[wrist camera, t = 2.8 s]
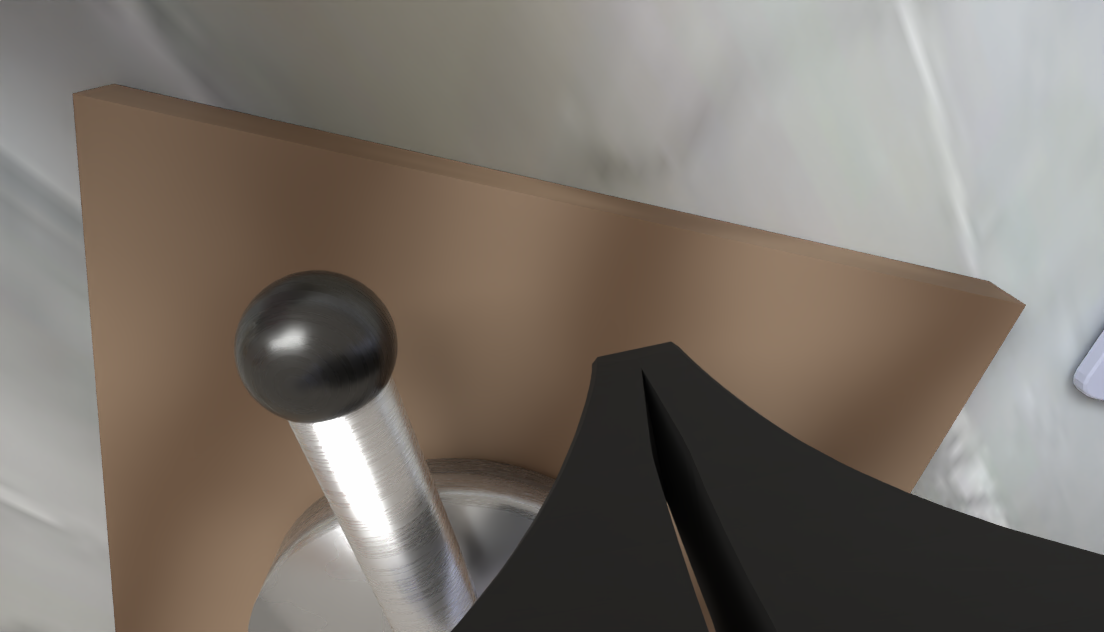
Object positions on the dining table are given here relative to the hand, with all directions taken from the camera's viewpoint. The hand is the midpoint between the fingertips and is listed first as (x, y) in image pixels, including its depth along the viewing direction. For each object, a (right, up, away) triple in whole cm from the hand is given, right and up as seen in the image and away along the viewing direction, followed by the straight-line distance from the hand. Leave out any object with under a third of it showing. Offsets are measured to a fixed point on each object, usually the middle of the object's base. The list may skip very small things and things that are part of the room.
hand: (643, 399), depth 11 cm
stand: (-3, -5, +7) cm, 9 cm away
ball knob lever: (-4, -6, +5) cm, 9 cm away
